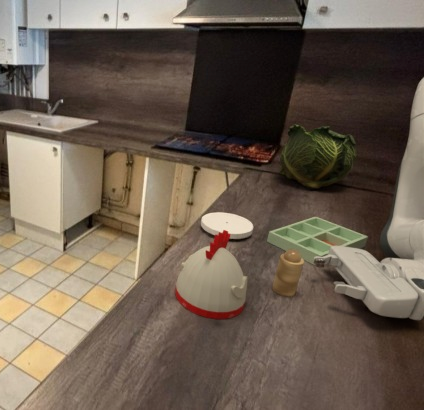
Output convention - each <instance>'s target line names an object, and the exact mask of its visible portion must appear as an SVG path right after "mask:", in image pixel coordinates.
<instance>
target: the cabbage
mask: <svg viewBox="0 0 424 410" xmlns="http://www.w3.org/2000/svg"><path fill="white" fill-rule="evenodd" d="M286 135H288V140H286V143H285V145H284V146H283V149H282V151H281V153H280V157H279V163H280V164H279V166H280V168H279V172H278V173H279V174H281V175H284V176H286V177H287V179H289V180H293V181H295V180H296V182H298V183H299V184H301V185H303V186H304V188H305V189H306V190H308V191H312V190H318V189H320V188H321V187H327V186H330V185H333V184H335V183H338V182H339V181H341V180H343V179H344V178H346V177H347V176H348V175H349V173H351V171H352V169H353V167H354V162H355V161H356V159H357V157H358V156H357V155H358V153H357V149H356V147H357V143H356V141H355V139H354V136H353V135H351V134H350V133H349V134H346V135H343V134H340V133H338V132H335V131H333V130H330V126H327V125H326V126H321V127H314V128H313V129H312V130H311V131H310V132H309V131H308V132H307V130H306V128H305V127H304V126H303V125H298V124H293V125H292V126H291V125H290V126H289V129H288V130H287V133H286Z"/></svg>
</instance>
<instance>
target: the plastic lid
mask: <svg viewBox="0 0 424 410" xmlns="http://www.w3.org/2000/svg"><path fill="white" fill-rule="evenodd" d="M200 226H201V228H202V229H203V231H205V232H206V233H208V234H210V235H213V236H215V234H216V235H218V234H219V232H221V233H223V230H226V231H228V233H229V234H231V235H230V238H229V240H232V239H233V240H241V239H245V238H249V237H251V236H252V235H253V231H254V224H253V223H252V221H250V220H249V219H247V218H246V217H243V216H240V215H238V214H234V213H230V212H219V211H217V212H209V213H206V214H204V215H202V217H201V220H200Z"/></svg>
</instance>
